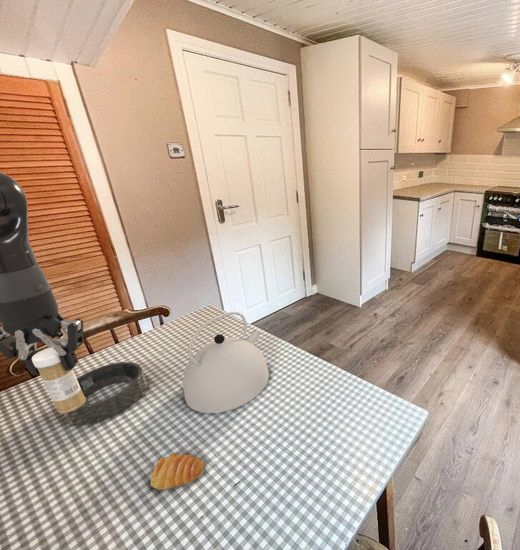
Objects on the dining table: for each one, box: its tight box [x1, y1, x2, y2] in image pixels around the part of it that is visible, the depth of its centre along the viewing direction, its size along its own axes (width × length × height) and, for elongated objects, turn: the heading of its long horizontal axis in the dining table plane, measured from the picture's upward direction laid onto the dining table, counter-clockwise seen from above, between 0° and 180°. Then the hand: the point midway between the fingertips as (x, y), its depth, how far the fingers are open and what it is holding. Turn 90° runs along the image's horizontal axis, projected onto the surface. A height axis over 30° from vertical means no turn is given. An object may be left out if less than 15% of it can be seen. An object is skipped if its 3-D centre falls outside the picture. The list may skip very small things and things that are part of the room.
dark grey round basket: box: [62, 361, 148, 426], centre depth 82 cm, size 18×18×6 cm
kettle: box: [182, 311, 270, 414], centre depth 86 cm, size 25×23×22 cm
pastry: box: [150, 453, 205, 491], centre depth 63 cm, size 9×7×4 cm
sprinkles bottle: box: [32, 347, 87, 414], centre depth 61 cm, size 5×5×13 cm
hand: (55, 369), depth 60 cm, fingers closed on sprinkles bottle, 4 cm apart
